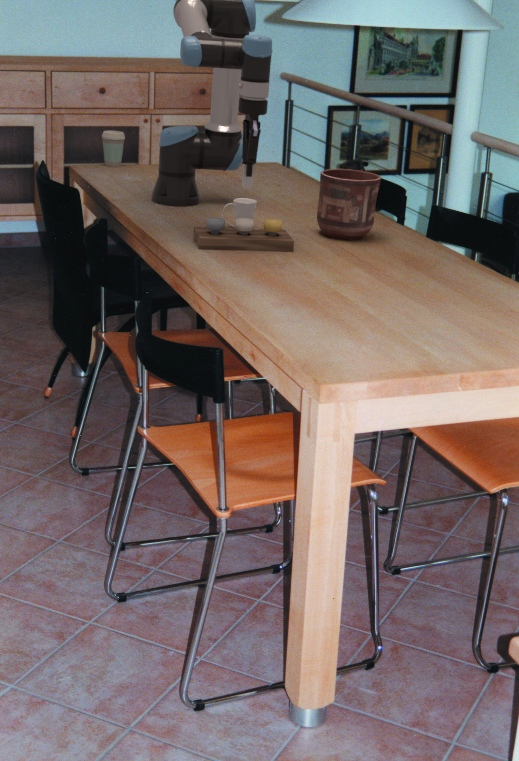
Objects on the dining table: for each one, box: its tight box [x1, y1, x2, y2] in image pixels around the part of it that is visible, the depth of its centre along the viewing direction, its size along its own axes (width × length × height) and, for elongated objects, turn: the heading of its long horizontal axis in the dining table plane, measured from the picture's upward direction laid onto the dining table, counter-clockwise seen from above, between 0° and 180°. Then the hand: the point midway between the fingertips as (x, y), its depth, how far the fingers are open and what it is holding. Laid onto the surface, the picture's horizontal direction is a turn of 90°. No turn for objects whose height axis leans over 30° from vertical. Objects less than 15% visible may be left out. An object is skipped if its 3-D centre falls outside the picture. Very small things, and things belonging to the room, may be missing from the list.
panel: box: [193, 226, 295, 252], centre depth 271 cm, size 12×26×3 cm, turn 101°
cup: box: [221, 197, 258, 228], centre depth 287 cm, size 7×10×8 cm
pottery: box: [316, 168, 382, 241], centre depth 287 cm, size 18×18×18 cm
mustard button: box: [262, 218, 283, 236], centre depth 271 cm, size 5×5×5 cm
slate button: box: [205, 216, 226, 235], centre depth 268 cm, size 5×5×5 cm
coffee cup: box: [101, 130, 126, 168], centre depth 359 cm, size 9×8×12 cm
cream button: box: [234, 218, 255, 235], centre depth 270 cm, size 5×5×5 cm
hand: (246, 187), depth 265 cm, fingers closed
